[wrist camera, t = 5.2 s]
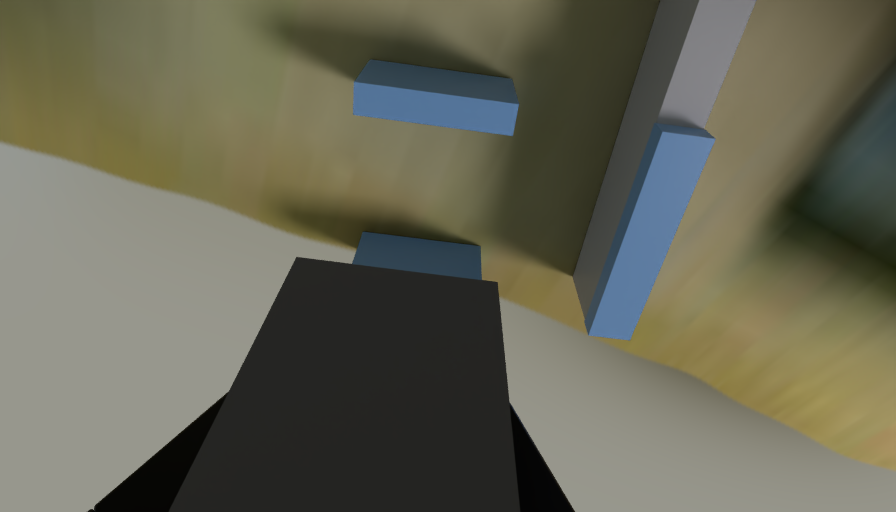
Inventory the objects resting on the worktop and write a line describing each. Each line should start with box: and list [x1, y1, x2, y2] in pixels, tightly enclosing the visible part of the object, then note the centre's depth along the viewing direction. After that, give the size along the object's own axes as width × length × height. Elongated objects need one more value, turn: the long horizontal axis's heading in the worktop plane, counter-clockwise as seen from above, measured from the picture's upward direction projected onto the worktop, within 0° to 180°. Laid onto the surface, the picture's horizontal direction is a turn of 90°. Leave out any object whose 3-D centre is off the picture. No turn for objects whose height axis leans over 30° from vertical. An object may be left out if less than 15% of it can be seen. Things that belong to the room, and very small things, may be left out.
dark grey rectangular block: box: [169, 257, 520, 512], centre depth 9 cm, size 4×4×6 cm
